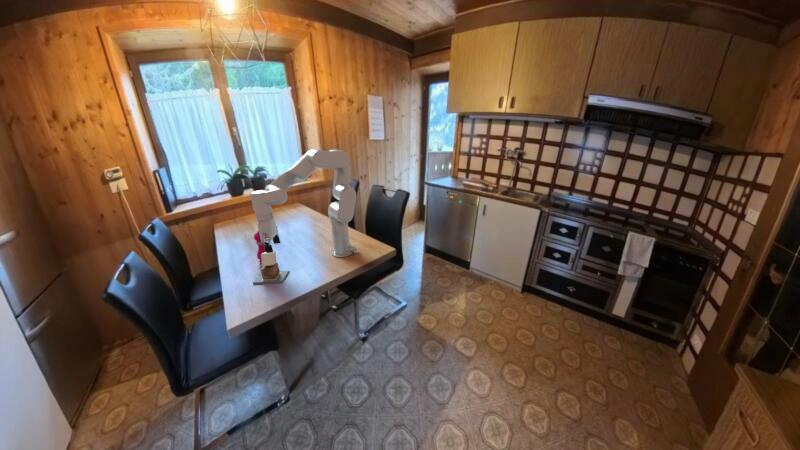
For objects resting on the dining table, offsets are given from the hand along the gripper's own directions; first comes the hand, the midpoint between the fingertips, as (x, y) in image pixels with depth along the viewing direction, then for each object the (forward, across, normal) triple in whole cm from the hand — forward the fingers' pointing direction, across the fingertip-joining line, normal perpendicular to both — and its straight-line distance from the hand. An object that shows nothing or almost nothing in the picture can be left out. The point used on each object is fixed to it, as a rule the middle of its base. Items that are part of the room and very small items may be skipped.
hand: (273, 247), depth 133 cm
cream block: (+7, +4, -2) cm, 9 cm away
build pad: (+15, +5, -3) cm, 16 cm away
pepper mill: (+15, -12, -12) cm, 23 cm away
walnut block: (+14, +5, -3) cm, 15 cm away
